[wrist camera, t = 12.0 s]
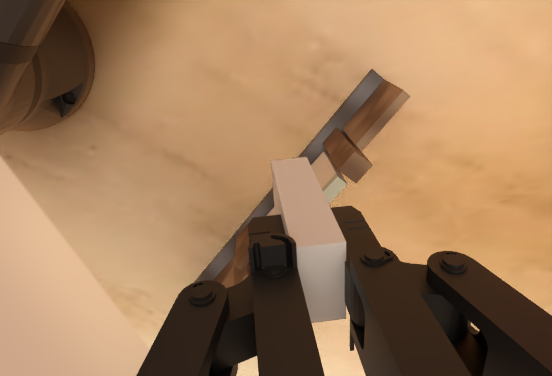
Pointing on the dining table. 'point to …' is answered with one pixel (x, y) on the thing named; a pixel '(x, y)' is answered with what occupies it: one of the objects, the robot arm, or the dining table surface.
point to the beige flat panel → (326, 178)
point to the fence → (331, 139)
